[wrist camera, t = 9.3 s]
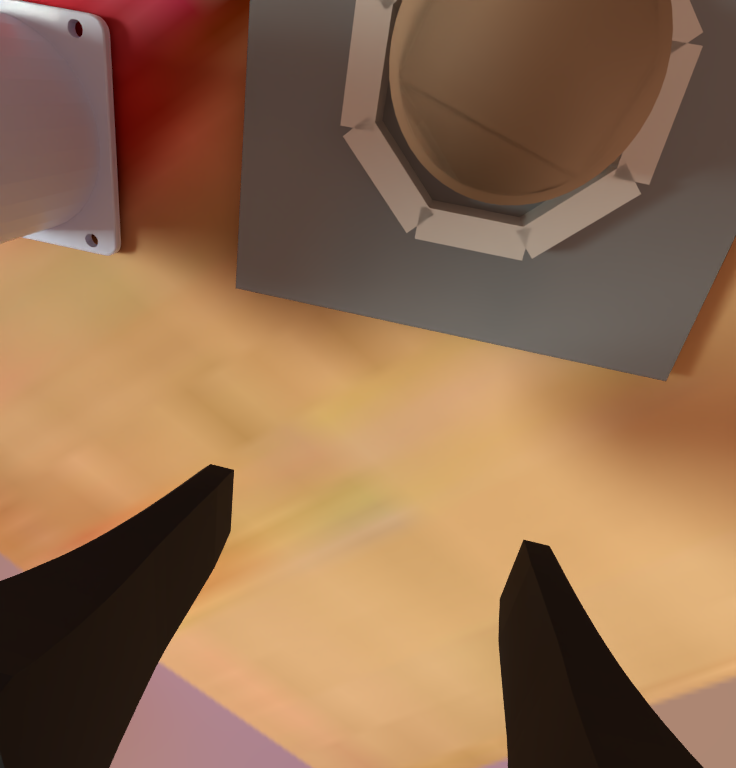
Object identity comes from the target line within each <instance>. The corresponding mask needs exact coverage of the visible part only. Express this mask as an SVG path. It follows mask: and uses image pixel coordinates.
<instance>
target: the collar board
mask: <svg viewBox="0 0 736 768" xmlns="http://www.w3.org/2000/svg"><path fill="white" fill-rule="evenodd" d="M401 3H402V0H250V9H249V29H248V50H247V70H246V90H245V111H244V131H243V151H242V172H241V192H240V212H239V233H238V253H237V273H236V288H238V289H242V290H247V291H252V292H256V293H261V294H266V295H270V296H275V297H279V298H284V299H289V300H293V301H298V302H302V303H307V304H312V305H316V306H321V307H326V308H330V309H335V310H339V311H344V312H349V313H353V314H358V315H362V316H367V317H372V318H376V319H381V320H386V321H390V322H395V323H399V324H404V325H409V326H413V327H418V328H422V329H427V330H432V331H436V332H441V333H446V334H450V335H455V336H459V337H464V338H469V339H473V340H478V341H482V342H487V343H492V344H496V345H501V346H506V347H510V348H515V349H519V350H524V351H529V352H533V353H538V354H542V355H547V356H552V357H556V358H561V359H565V360H570V361H575V362H579V363H584V364H589V365H593V366H598V367H602V368H607V369H612V370H616V371H621V372H625V373H630V374H635V375H639V376H644V377H649V378H653V379H658V380H662V381H666V380H667V378H668V376H669V374H670V372H671V370H672V368H673V366H674V364H675V361H676V359H677V357H678V355H679V353H680V351H681V349H682V347H683V345H684V343H685V341H686V338H687V336H688V334H689V332H690V330H691V328H692V326H693V324H694V322H695V320H696V318H697V315H698V313H699V311H700V309H701V307H702V305H703V303H704V301H705V299H706V297H707V295H708V293H709V290H710V288H711V286H712V284H713V282H714V280H715V278H716V276H717V274H718V272H719V270H720V267H721V265H722V263H723V261H724V259H725V257H726V255H727V253H728V251H729V249H730V247H731V244H732V242H733V240H734V238H735V236H736V0H671V4H672V16H673V35H672V46H671V54H670V59H669V63H668V68H667V73H666V76H665V79H664V82H663V85H662V88H661V91H660V94H659V96H658V98H657V100H656V102H655V105H654V107H653V109H652V111H651V113H650V115H649V116H648V118H647V120H646V121H645V123H644V125H643V126H642V128H641V130H640V131H639V133H638V134H637V135H636V137H635V138H634V139H633V141H632V142H631V143H630V144H629V146H628V147H627V148H626V149H625V150H624V151H623V152H622V154H621V155H620V156H619V157H618V158H617V159H616V160H615V161H614V162H613V163H612V164H610V165H609V166H608V167H607V168H606V169H605V170H603V171H602V172H601V173H600V174H599V175H597V176H596V177H594V178H593V179H591V180H590V181H588V182H587V183H585V184H584V185H582V186H580V187H578V188H576V189H574V190H572V191H570V192H569V193H566V194H564V195H561V196H558V197H556V198H553V199H550V200H546V201H542V202H538V203H534V204H525V205H497V204H490V203H485V202H481V201H478V200H474V199H471V198H468V197H466V196H464V195H462V194H460V193H457V192H455V191H454V190H452V189H451V188H449V187H447V186H446V185H444V184H443V183H441V182H440V181H439V180H438V179H437V178H435V177H434V176H433V175H432V174H431V173H430V172H429V171H428V170H427V169H426V168H425V167H424V166H423V165H422V164H421V162H420V161H419V160H418V159H417V157H416V156H415V154H414V153H413V151H412V150H411V148H410V147H409V145H408V143H407V141H406V139H405V137H404V135H403V133H402V131H401V128H400V126H399V123H398V120H397V118H396V115H395V110H394V106H393V102H392V98H391V89H390V80H389V57H390V48H391V39H392V34H393V30H394V26H395V21H396V17H397V14H398V11H399V9H400V6H401Z"/></svg>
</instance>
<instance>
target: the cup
mask: <svg viewBox="0 0 736 768" xmlns="http://www.w3.org/2000/svg"><path fill="white" fill-rule="evenodd" d="M672 35H673V16H672V4H671V0H402V3H401V6H400V9H399V11H398V14H397V17H396V21H395V26H394V30H393V34H392V39H391V48H390V57H389V80H390V89H391V98H392V102H393V106H394V110H395V115H396V118H397V120H398V123H399V126H400V128H401V131H402V133H403V135H404V137H405V139H406V141H407V143H408V145H409V147H410V148H411V150H412V151H413V153H414V154H415V156H416V157H417V159H418V160H419V161H420V162H421V164H422V165H423V166H424V167H425V168H426V169H427V170H428V171H429V172H430V173H431V174H432V175H433V176H434V177H435V178H437V179H438V180H439V181H440V182H441V183H443V184H444V185H446V186H447V187H449V188H451V189H452V190H454V191H455V192H457V193H460V194H462V195H464V196H466V197H468V198H471V199H474V200H478V201H481V202H485V203H490V204H497V205H525V204H534V203H538V202H542V201H546V200H550V199H553V198H556V197H558V196H561V195H564V194H566V193H569V192H570V191H572V190H574V189H576V188H578V187H580V186H582V185H584V184H585V183H587V182H588V181H590V180H591V179H593V178H594V177H596V176H597V175H599V174H600V173H601V172H602V171H603V170H605V169H606V168H607V167H608V166H609V165H610V164H612V163H613V162H614V161H615V160H616V159H617V158H618V157H619V156H620V155H621V154H622V152H623V151H624V150H625V149H626V148H627V147H628V146H629V144H630V143H631V142H632V141H633V139H634V138H635V137H636V135H637V134H638V133H639V131H640V130H641V128H642V126H643V125H644V123H645V121H646V120H647V118H648V116H649V115H650V113H651V111H652V109H653V107H654V105H655V102H656V100H657V98H658V96H659V94H660V91H661V88H662V85H663V82H664V79H665V76H666V73H667V68H668V63H669V59H670V54H671V46H672Z"/></svg>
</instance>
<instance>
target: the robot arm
mask: <svg viewBox="0 0 736 768" xmlns="http://www.w3.org/2000/svg"><path fill="white" fill-rule="evenodd" d="M78 21H79V22H80V24H81V25H82V28H83V33H82V35H81V37H79V36H78V35H77V33H76V30H75V26H76V23H77V22H78ZM92 234H93V235H95V236H96V238H97V240H98V245H97V244H95V243H94V242H93V240H92V237H91V236H92ZM20 237H23V238H27V239H32V240H37V241H41V242H46V243H50V244H55V245H60V246H64V247H69V248H74V249H78V250H83V251H87V252H92V253H97V254H101V255H112V254H114V253H116V252H118V251H119V250H120V248H121V233H120V214H119V195H118V176H117V157H116V137H115V118H114V99H113V80H112V61H111V42H110V32H109V28H108V26H107V24H106V22H105V21H104V20H103V19H102V18H101V17H100V16H97V15H95V14H91V13H85V12H80V11H74V10H69V9H64V8H58V7H53V6H47V5H42V4H36V3H31V2H25V1H20V0H0V244H1V243H4V242H8V241H11V240H14V239H17V238H20ZM233 479H234V470H232V469H228V468H224V467H220V466H216V465H212V464H210V465H209V466H207V467H205V468H204V469H202V470H201V471H200V472H198V473H197V474H195V475H194V476H193V477H191V478H190V479H188V480H187V481H186V482H184V483H183V484H181V485H180V486H179V487H177V488H176V489H174V490H173V491H171V492H170V493H169V494H167V495H166V496H164V497H163V498H161V499H160V500H158V501H157V502H155V503H154V504H152V505H151V506H149V507H148V508H146V509H145V510H143V511H142V512H140V513H138V514H137V515H135V516H134V517H132V518H130V519H129V520H127V521H125V522H124V523H122V524H120V525H119V526H117V527H115V528H114V529H112V530H110V531H109V532H107V533H105V534H103V535H101V536H100V537H98V538H96V539H94V540H92V541H90V542H89V543H87V544H85V545H83V546H81V547H79V548H77V549H75V550H73V551H71V552H69V553H67V554H65V555H62V556H60V557H58V558H56V559H53V560H51V561H49V562H46V563H44V564H41V565H39V566H37V567H34V568H32V569H30V570H27V571H25V572H23V573H20V574H18V575H15V576H13V577H10V578H7V579H5V580H2V581H0V768H109V767H110V765H111V762H112V760H113V758H114V755H115V753H116V751H117V749H118V746H119V744H120V742H121V740H122V738H123V735H124V733H125V731H126V729H127V727H128V725H129V722H130V720H131V718H132V716H133V714H134V712H135V709H136V707H137V705H138V703H139V701H140V699H141V697H142V695H143V693H144V691H145V689H146V686H147V684H148V682H149V680H150V678H151V676H152V674H153V672H154V670H155V667H156V666H157V664H158V662H159V660H160V658H161V656H162V655H163V653H164V651H165V649H166V647H167V646H168V644H169V642H170V641H171V639H172V637H173V636H174V634H175V632H176V631H177V629H178V627H179V626H180V624H181V622H182V621H183V619H184V618H185V616H186V614H187V613H188V611H189V609H190V608H191V606H192V604H193V603H194V601H195V599H196V598H197V596H198V594H199V593H200V591H201V589H202V588H203V586H204V584H205V583H206V581H207V579H208V578H209V576H210V574H211V573H212V571H213V569H214V567H215V565H216V563H217V561H218V559H219V556H220V554H221V552H222V550H223V547H224V545H225V543H226V541H227V538H228V536H229V534H230V531H231V514H232V496H233ZM499 653H500V665H501V677H502V688H503V699H504V710H505V721H506V732H507V749H508V768H703V767H702V766H701V765H700V763H699V762H698V761H696V759H695V758H694V757H693V756H692V755H691V754H690V753H689V752H688V750H687V749H686V748H685V747H684V746H683V745H682V743H681V742H680V741H679V740H678V739H677V738H676V737H675V735H674V734H673V733H672V732H671V731H670V730H669V728H668V727H667V726H666V725H665V724H664V723H663V721H662V720H661V719H660V718H659V717H658V715H657V714H656V713H655V712H654V710H653V709H652V708H651V707H650V705H649V704H648V703H647V702H646V700H645V699H644V698H643V696H642V695H641V694H640V692H639V691H638V690H637V688H636V687H635V686H634V685H633V683H632V682H631V681H630V679H629V678H628V677H627V675H626V674H625V672H624V671H623V670H622V668H621V667H620V665H619V664H618V662H617V661H616V659H615V658H614V656H613V655H612V653H611V652H610V650H609V649H608V647H607V646H606V644H605V643H604V641H603V639H602V638H601V636H600V635H599V633H598V632H597V630H596V628H595V627H594V625H593V623H592V621H591V620H590V618H589V616H588V615H587V613H586V611H585V610H584V608H583V606H582V605H581V603H580V601H579V599H578V598H577V596H576V594H575V592H574V590H573V589H572V587H571V585H570V583H569V581H568V579H567V578H566V576H565V574H564V572H563V570H562V568H561V566H560V565H559V563H558V561H557V559H556V557H555V555H554V553H553V551H552V550H551V548H550V546H547V545H543V544H539V543H535V542H531V541H527V540H523V542H522V545H521V547H520V550H519V552H518V555H517V557H516V560H515V562H514V565H513V567H512V570H511V572H510V575H509V577H508V580H507V582H506V585H505V587H504V590H503V592H502V595H501V597H500V610H499Z"/></svg>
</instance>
